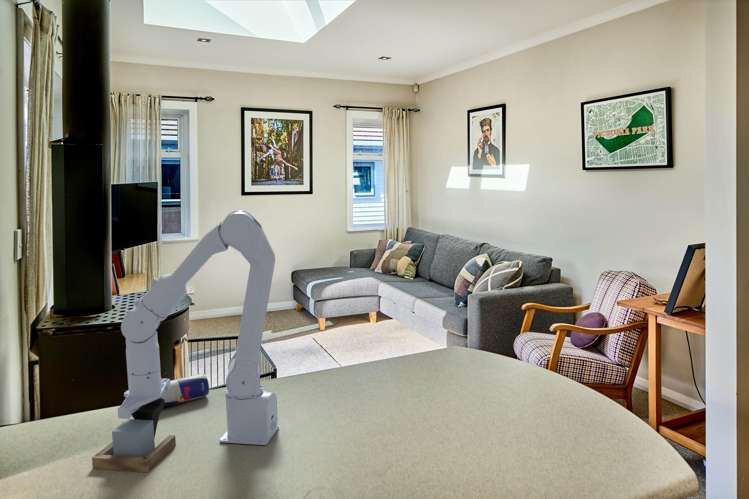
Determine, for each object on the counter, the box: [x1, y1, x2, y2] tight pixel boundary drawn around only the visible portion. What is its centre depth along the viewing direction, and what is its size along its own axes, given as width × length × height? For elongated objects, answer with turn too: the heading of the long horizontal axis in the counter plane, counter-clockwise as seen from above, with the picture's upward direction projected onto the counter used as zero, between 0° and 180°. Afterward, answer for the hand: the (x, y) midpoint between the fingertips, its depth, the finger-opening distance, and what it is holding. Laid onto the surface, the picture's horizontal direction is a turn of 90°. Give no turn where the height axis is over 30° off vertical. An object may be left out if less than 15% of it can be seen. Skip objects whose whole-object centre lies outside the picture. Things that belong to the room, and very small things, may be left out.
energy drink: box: [160, 373, 210, 408], centre depth 126 cm, size 5×5×12 cm
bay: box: [91, 434, 177, 473], centre depth 102 cm, size 10×10×2 cm
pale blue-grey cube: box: [111, 418, 156, 458], centre depth 102 cm, size 5×6×6 cm
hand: (148, 438), depth 106 cm, fingers closed
